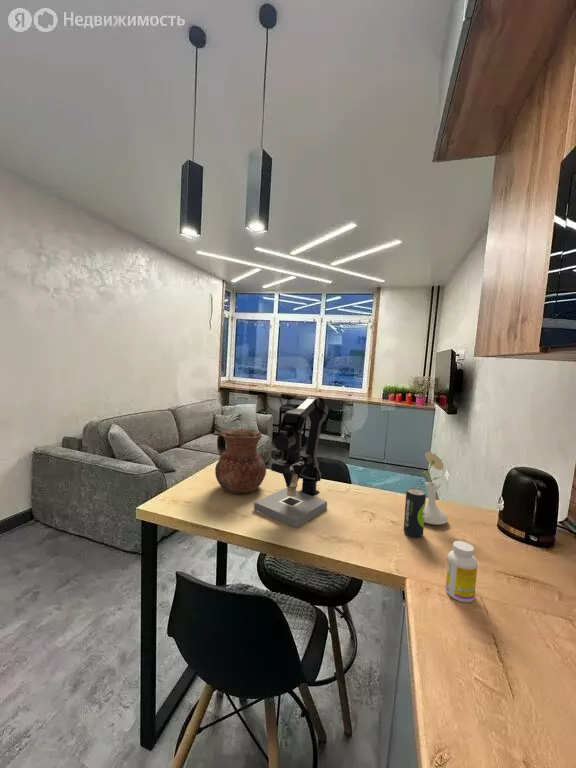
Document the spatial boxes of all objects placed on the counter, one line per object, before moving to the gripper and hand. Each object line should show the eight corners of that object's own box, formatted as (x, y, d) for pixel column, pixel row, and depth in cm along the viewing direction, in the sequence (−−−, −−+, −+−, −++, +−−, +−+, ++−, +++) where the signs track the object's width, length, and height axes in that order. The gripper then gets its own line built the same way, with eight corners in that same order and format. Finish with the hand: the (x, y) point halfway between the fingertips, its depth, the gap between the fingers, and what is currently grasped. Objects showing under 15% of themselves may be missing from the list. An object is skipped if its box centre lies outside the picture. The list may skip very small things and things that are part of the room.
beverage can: (399, 531, 116) (402, 489, 115) (412, 527, 119) (415, 486, 118) (414, 540, 111) (417, 496, 109) (427, 536, 114) (430, 493, 112)
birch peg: (290, 491, 133) (291, 471, 132) (299, 494, 130) (300, 474, 129) (283, 494, 129) (284, 474, 128) (292, 498, 127) (293, 477, 126)
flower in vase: (453, 528, 119) (458, 459, 117) (421, 527, 119) (426, 458, 117) (436, 511, 132) (441, 449, 130) (407, 510, 132) (412, 448, 130)
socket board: (286, 494, 144) (287, 487, 144) (326, 508, 132) (327, 500, 131) (253, 509, 128) (254, 501, 128) (295, 527, 116) (296, 519, 116)
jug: (265, 479, 160) (267, 427, 158) (265, 498, 139) (267, 438, 137) (218, 479, 158) (219, 426, 156) (211, 497, 138) (212, 437, 135)
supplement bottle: (480, 599, 84) (485, 550, 83) (461, 606, 81) (466, 556, 80) (457, 582, 90) (461, 536, 89) (439, 588, 88) (443, 541, 86)
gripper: (291, 436, 140) (290, 473, 141) (260, 445, 126) (259, 485, 127) (313, 441, 133) (312, 480, 135) (283, 451, 119) (282, 494, 120)
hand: (291, 484), depth 129 cm, fingers closed on birch peg, 4 cm apart
